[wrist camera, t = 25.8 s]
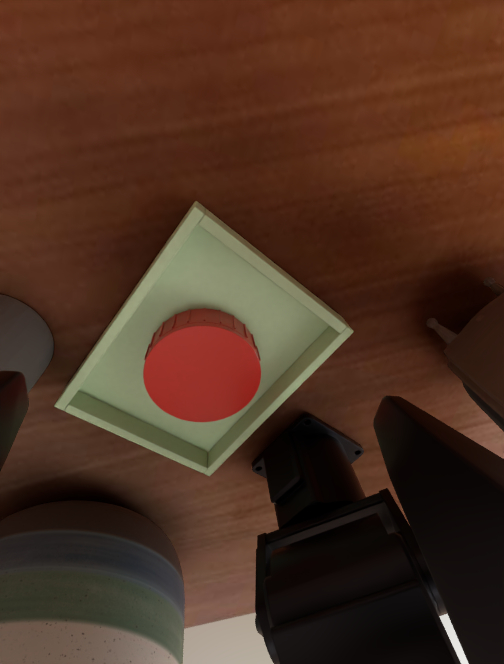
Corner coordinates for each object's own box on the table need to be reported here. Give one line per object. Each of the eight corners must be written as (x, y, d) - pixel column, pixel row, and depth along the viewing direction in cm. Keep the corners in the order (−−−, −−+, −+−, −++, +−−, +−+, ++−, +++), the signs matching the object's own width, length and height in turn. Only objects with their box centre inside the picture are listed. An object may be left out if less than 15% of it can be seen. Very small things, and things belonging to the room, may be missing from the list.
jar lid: (126, 364, 21) (117, 387, 19) (194, 284, 19) (192, 300, 17) (211, 415, 24) (212, 439, 22) (279, 348, 22) (286, 368, 20)
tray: (342, 317, 22) (354, 332, 20) (209, 454, 26) (209, 476, 24) (195, 200, 18) (194, 205, 16) (65, 386, 22) (53, 406, 20)
